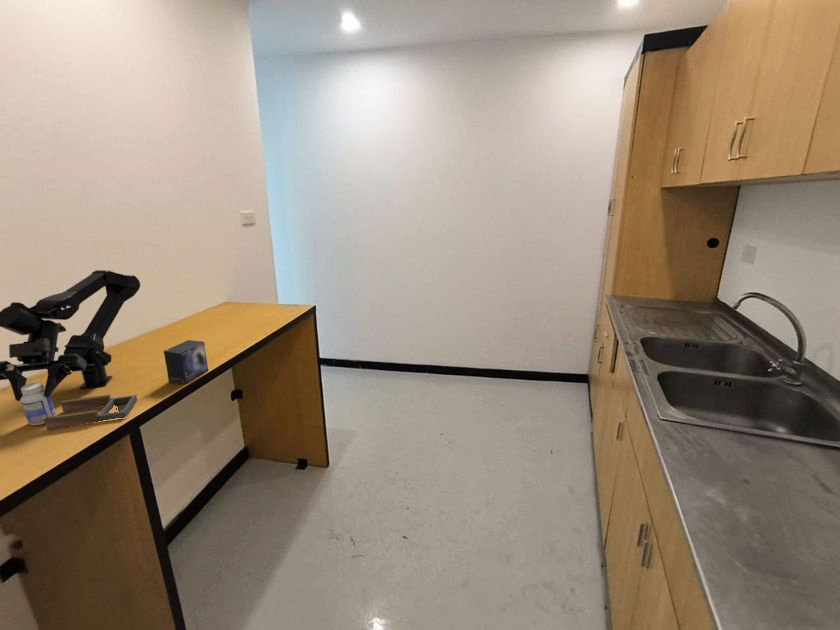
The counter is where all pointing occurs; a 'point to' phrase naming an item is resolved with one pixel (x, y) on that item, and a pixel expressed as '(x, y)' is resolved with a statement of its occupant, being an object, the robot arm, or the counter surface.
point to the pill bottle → (36, 403)
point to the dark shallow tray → (121, 403)
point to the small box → (186, 361)
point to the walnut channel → (80, 417)
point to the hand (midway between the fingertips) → (32, 398)
